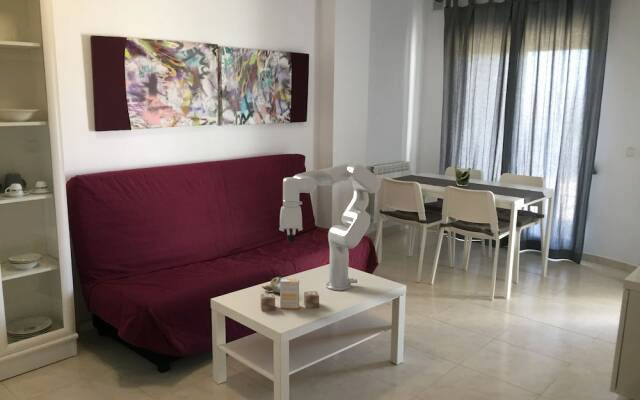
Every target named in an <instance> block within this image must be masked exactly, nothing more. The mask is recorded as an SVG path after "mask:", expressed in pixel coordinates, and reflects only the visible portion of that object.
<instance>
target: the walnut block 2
mask: <svg viewBox="0 0 640 400" xmlns="http://www.w3.org/2000/svg"><path fill="white" fill-rule="evenodd" d="M303 305H304V307H305V309H319V308H320V295H319V293H318V291H317V290H315V291H314V290H312V291H304V292H303Z"/></svg>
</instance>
